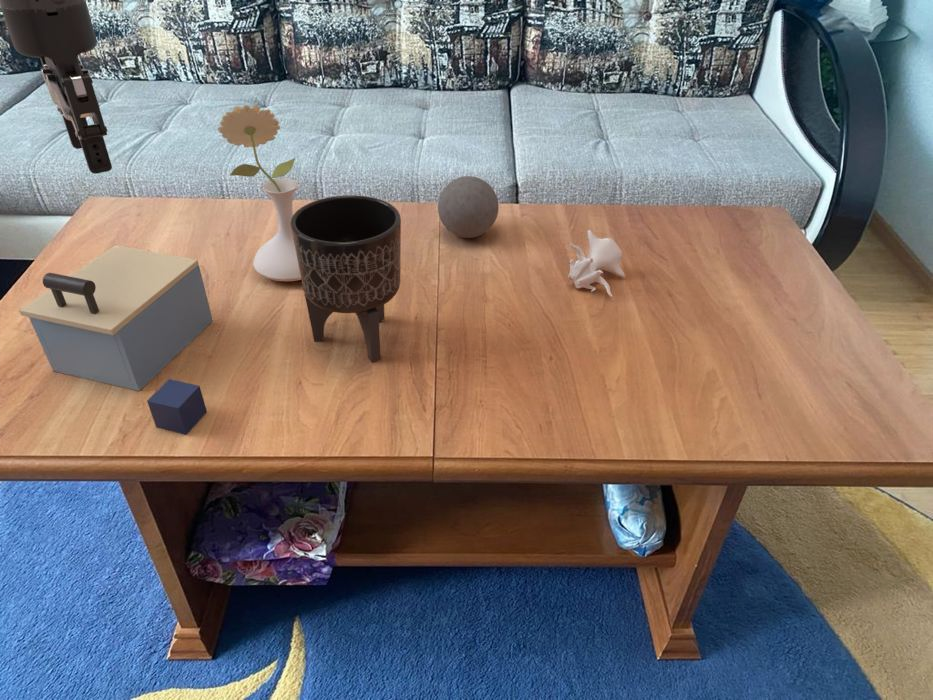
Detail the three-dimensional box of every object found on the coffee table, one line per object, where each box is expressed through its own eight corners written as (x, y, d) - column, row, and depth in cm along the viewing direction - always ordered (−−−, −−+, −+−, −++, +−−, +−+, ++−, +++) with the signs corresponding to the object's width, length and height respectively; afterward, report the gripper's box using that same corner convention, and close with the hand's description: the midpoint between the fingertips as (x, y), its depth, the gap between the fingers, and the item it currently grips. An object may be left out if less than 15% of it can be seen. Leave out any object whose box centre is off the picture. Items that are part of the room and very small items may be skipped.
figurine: (638, 268, 106) (630, 284, 97) (600, 295, 110) (588, 313, 101) (599, 217, 105) (587, 229, 97) (561, 246, 109) (546, 260, 100)
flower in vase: (336, 252, 110) (319, 93, 95) (322, 290, 101) (301, 121, 86) (256, 249, 110) (226, 90, 95) (234, 287, 101) (197, 118, 86)
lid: (113, 335, 76) (99, 297, 73) (21, 315, 79) (4, 278, 76) (199, 264, 89) (190, 230, 86) (116, 249, 92) (105, 215, 89)
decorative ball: (454, 253, 110) (455, 196, 104) (428, 228, 117) (427, 172, 111) (507, 241, 114) (511, 184, 108) (479, 216, 121) (481, 162, 115)
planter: (301, 369, 86) (281, 244, 75) (315, 311, 96) (299, 194, 86) (404, 368, 87) (398, 243, 76) (407, 311, 97) (402, 194, 86)
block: (186, 434, 77) (178, 408, 74) (156, 427, 77) (146, 400, 75) (207, 411, 80) (199, 385, 77) (177, 404, 81) (169, 378, 78)
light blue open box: (139, 391, 82) (118, 332, 77) (52, 370, 85) (26, 312, 80) (213, 320, 94) (199, 265, 89) (135, 305, 97) (116, 250, 92)
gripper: (-12, -10, 70) (43, 145, 79) (10, 15, 61) (69, 188, 70) (68, -16, 73) (111, 134, 83) (100, 7, 64) (145, 173, 74)
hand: (92, 158), depth 77 cm, fingers open, 8 cm apart
